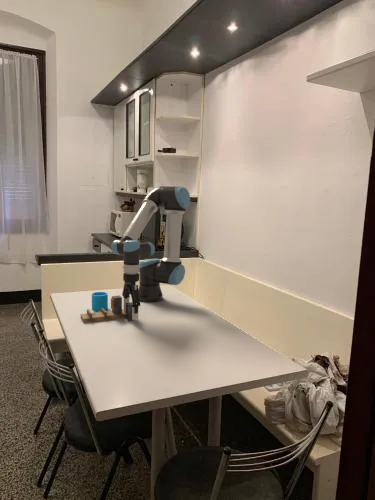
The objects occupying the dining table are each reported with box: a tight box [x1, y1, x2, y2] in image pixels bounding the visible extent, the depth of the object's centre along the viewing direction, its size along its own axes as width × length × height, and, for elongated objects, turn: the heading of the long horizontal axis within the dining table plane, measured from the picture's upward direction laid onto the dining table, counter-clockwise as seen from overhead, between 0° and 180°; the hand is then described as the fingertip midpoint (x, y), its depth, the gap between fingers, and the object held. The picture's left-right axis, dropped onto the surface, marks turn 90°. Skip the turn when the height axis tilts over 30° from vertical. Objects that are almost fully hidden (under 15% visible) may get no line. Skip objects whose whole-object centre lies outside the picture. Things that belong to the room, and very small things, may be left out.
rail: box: [80, 295, 126, 324], centre depth 191 cm, size 24×7×10 cm, turn 116°
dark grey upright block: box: [125, 301, 136, 322], centre depth 189 cm, size 5×4×8 cm
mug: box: [91, 291, 109, 312], centre depth 206 cm, size 12×8×8 cm
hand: (130, 315), depth 189 cm, fingers open, 13 cm apart
